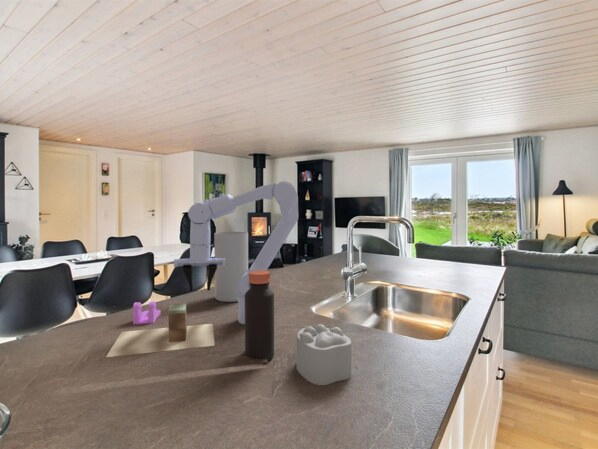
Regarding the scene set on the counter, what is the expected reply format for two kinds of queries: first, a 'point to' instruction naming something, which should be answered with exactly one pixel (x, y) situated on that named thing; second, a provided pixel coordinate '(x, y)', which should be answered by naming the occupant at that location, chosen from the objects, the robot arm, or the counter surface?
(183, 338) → the walnut block
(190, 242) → the robot arm
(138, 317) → the bracket
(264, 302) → the bottle
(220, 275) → the cylinder vase
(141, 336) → the birch board
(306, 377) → the lumpy-topped squat cylinder
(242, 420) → the counter surface
